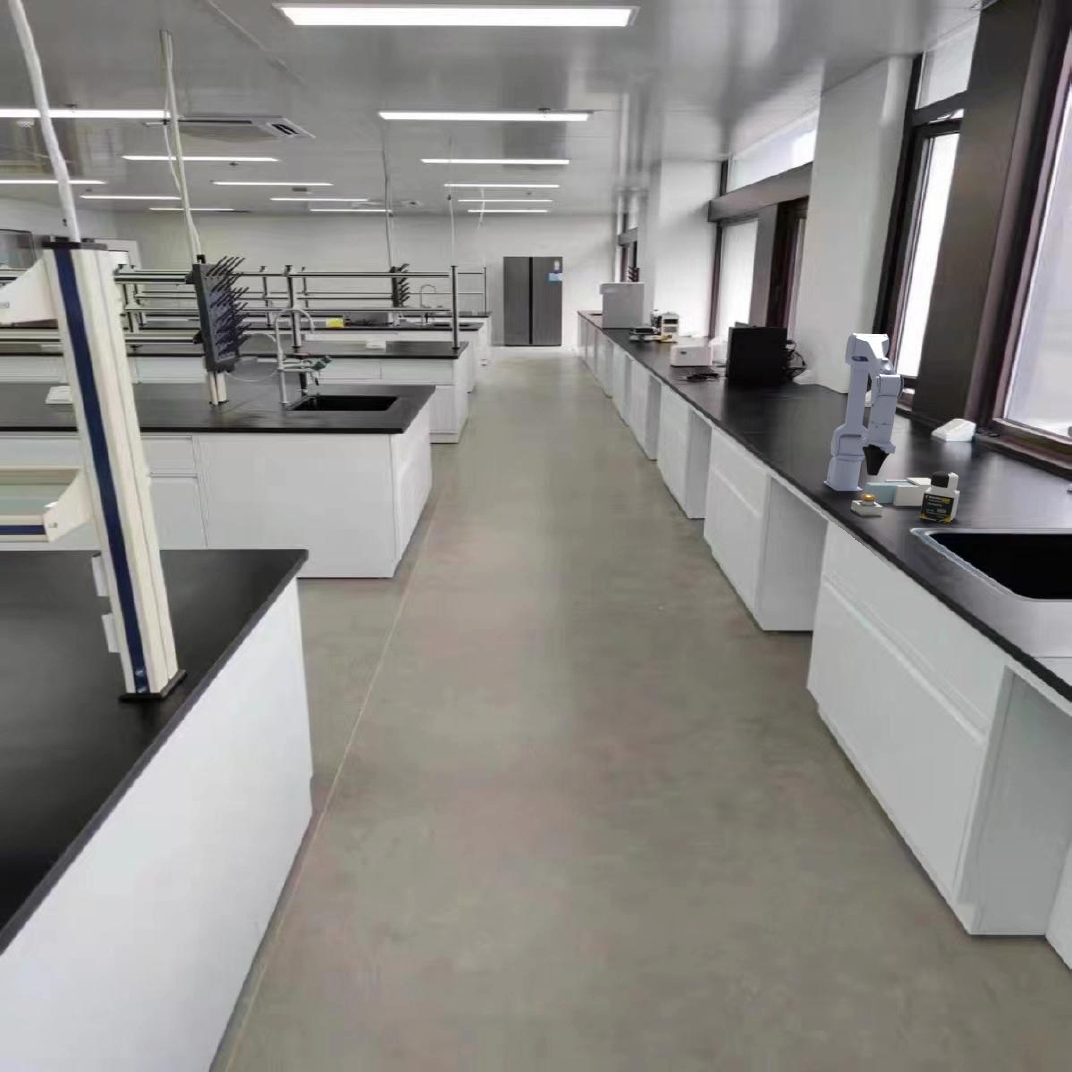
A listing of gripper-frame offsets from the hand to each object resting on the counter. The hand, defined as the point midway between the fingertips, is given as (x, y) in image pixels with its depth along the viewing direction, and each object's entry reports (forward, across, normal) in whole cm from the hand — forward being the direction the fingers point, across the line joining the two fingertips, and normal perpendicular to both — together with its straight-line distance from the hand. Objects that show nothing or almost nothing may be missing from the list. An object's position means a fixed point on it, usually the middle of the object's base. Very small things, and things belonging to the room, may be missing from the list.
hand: (872, 474), depth 197 cm
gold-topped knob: (+10, 0, 0) cm, 10 cm away
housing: (+10, -10, +17) cm, 22 cm away
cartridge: (+10, -10, +13) cm, 19 cm away
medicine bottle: (+10, +4, +17) cm, 20 cm away
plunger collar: (+10, 0, 0) cm, 10 cm away
